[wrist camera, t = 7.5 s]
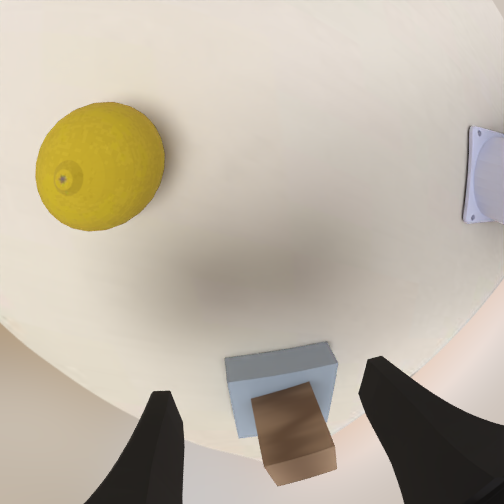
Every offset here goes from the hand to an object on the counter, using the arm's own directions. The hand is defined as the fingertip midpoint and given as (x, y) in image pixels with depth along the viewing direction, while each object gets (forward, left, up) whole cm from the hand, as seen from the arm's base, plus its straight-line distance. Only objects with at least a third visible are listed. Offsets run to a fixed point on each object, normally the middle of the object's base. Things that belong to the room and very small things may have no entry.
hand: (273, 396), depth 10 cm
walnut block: (-2, +11, -7) cm, 13 cm away
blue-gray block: (-2, +11, -10) cm, 15 cm away
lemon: (+6, -8, -10) cm, 14 cm away
